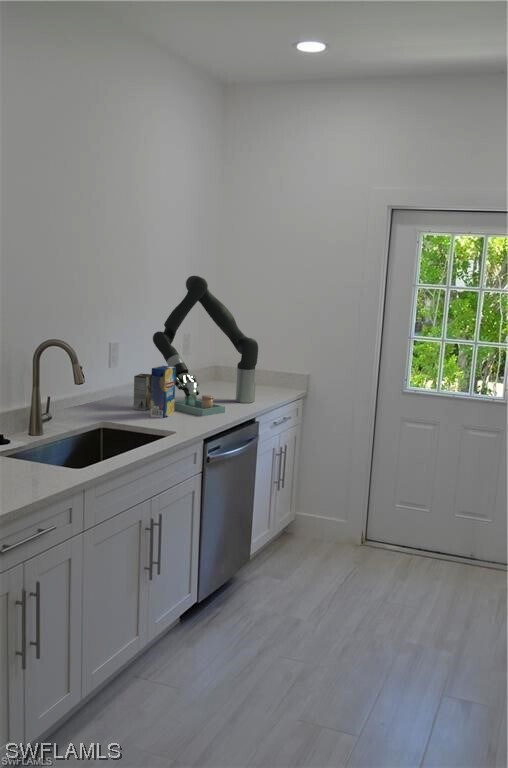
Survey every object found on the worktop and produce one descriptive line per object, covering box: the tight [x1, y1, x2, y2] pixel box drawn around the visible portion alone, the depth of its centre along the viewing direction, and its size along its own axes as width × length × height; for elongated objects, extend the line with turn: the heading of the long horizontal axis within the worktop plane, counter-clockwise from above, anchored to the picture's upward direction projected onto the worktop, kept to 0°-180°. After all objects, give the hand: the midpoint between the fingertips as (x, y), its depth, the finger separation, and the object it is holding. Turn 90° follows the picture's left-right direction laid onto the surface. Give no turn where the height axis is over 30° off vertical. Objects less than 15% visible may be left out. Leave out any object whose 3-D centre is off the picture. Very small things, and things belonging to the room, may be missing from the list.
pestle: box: [201, 394, 214, 409], centre depth 349 cm, size 5×5×8 cm
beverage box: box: [149, 365, 176, 419], centre depth 341 cm, size 7×11×22 cm, turn 161°
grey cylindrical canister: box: [184, 381, 198, 406], centre depth 355 cm, size 5×5×11 cm
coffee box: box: [132, 373, 152, 411], centre depth 354 cm, size 9×6×16 cm
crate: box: [174, 399, 226, 417], centre depth 353 cm, size 15×22×4 cm
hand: (193, 394), depth 354 cm, fingers closed on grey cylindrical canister, 5 cm apart
